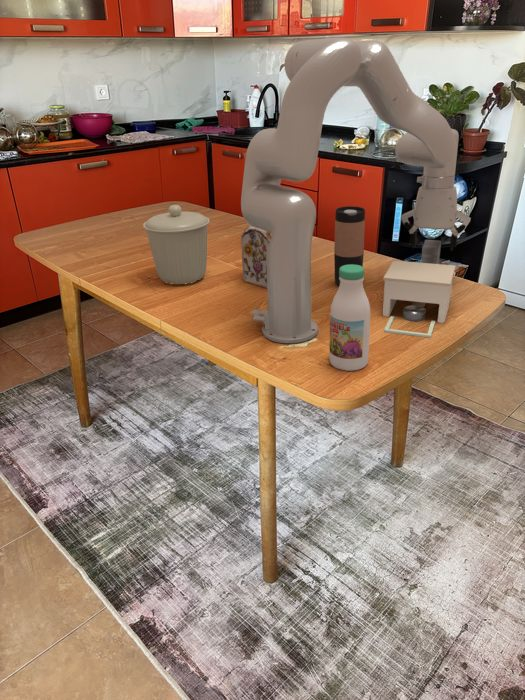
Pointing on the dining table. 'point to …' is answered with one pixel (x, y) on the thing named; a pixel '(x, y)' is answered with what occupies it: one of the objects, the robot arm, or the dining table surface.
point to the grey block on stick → (429, 258)
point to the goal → (409, 331)
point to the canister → (178, 245)
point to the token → (414, 313)
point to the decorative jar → (255, 255)
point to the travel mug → (348, 238)
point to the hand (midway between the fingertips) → (432, 248)
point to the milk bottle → (350, 321)
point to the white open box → (418, 285)
